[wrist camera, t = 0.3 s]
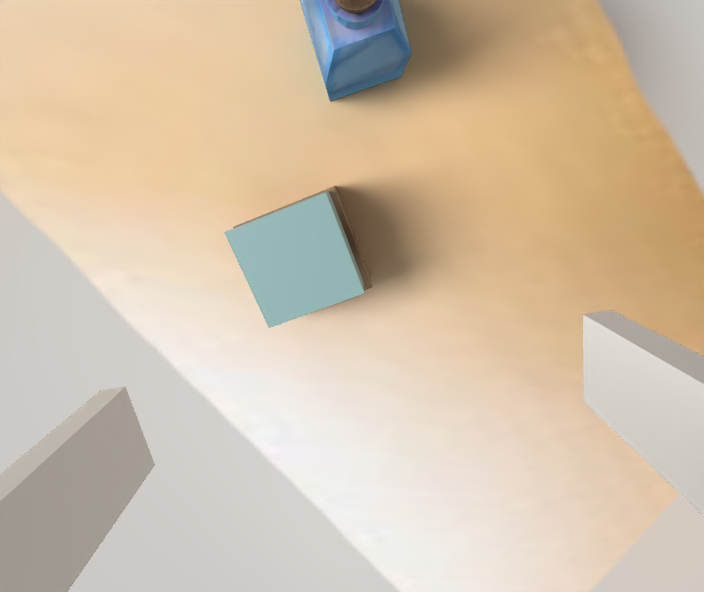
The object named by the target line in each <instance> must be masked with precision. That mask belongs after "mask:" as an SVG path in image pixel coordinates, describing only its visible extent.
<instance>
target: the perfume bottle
mask: <svg viewBox="0 0 704 592" xmlns="http://www.w3.org/2000/svg"><path fill="white" fill-rule="evenodd" d="M300 2H301V5H302V9H303V12H304V16H305V19H306V23H307V26H308V30H309V33H310V36H311V39H312V43H313V46H314V49H315V53H316V56H317V59H318V63H319V66H320V69H321V73H322V76H323V79H324V83H325V86H326V89H327V93H328V96H329V99H330V101H333V100H335V99H338V98H341V97H344V96H347V95H350V94H353V93H356V92H358V91H361V90H364V89H367V88H370V87H373V86H376V85H379V84H381V83H384V82H387V81H390V80H393V79H396V78H399V77H401V75H402V73H403V71H404V68H405V66H406V64H407V62H408V60H409V58H410V56H411V49H410V45H409V41H408V37H407V33H406V29H405V24H404V20H403V16H402V12H401V8H400V4H399V0H300Z"/></svg>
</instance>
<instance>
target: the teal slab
mask: <svg viewBox="0 0 704 592" xmlns="http://www.w3.org/2000/svg"><path fill="white" fill-rule="evenodd" d="M224 233H225V235H226V237H227V239H228V241H229V244H230V246H231V248H232V250H233V252H234V254H235V256H236V258H237V261H238V263H239V265H240V267H241V269H242V271H243V273H244V275H245V278H246V280H247V282H248V284H249V286H250V288H251V290H252V293H253V295H254V297H255V299H256V301H257V303H258V305H259V307H260V310H261V312H262V314H263V316H264V318H265V320H266V322H267V324H268V327H269V328H270V327H273V326H276V325H279V324H281V323H284V322H287V321H290V320H293V319H295V318H298V317H301V316H304V315H306V314H309V313H312V312H315V311H317V310H320V309H323V308H326V307H328V306H331V305H334V304H337V303H339V302H342V301H345V300H348V299H350V298H353V297H356V296H359V295H361V294H364V293H365V292H364V283H363V279H362V276H361V273H360V271H359V268H358V266H357V263H356V260H355V258H354V255H353V252H352V250H351V247H350V245H349V242H348V239H347V237H346V234H345V232H344V229H343V226H342V224H341V221H340V218H339V216H338V213H337V211H336V208H335V205H334V203H333V200H332V198H331V195H330V192H329V191H327V192H325V193H322V194H320V195H317V196H315V197H312V198H310V199H307V200H305V201H302V202H299V203H297V204H294V205H292V206H289V207H287V208H284V209H282V210H279V211H277V212H274V213H272V214H269V215H267V216H264V217H261V218H259V219H256V220H254V221H251V222H249V223H246V224H244V225H241V226H239V227H236V228H234V229H231V230H229V231H226V232H224Z"/></svg>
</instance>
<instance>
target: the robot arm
mask: <svg viewBox="0 0 704 592" xmlns="http://www.w3.org/2000/svg"><path fill="white" fill-rule="evenodd" d="M583 371H584V403H585V404H586V405H587V406H588V407H590V408H591V409H592V410H593V411H594V412H595V413H596V414H597V415H598V416H599V417H600V418H601V419H602V420H603V421H604V422H605V423H606V424H607V425H608V426H609V427H611V428H612V429H613V430H614V431H615V432H616V433H617V434H618V435H619V436H620V437H621V438H622V439H623V440H624V441H625V442H626V443H627V444H628V445H629V446H630V447H632V448H633V449H634V450H635V451H636V452H637V453H638V454H639V455H640V456H641V457H642V458H643V459H644V460H645V461H646V462H647V463H648V464H649V465H650V466H651V467H653V468H654V469H655V470H656V471H657V472H658V473H659V474H660V475H661V476H662V477H663V478H664V479H665V480H666V481H667V482H668V483H669V484H670V485H671V486H672V487H674V488H675V489H676V490H677V491H678V492H679V493H680V494H681V495H682V496H683V497H684V498H685V499H686V500H687V501H689V503H690V504H691V505H693V507H695V508H696V509H697V510H698V511H699V512H700V513H701V514H702V515H703V516H704V356H703V355H701V354H699V353H697V352H694V351H692V350H690V349H688V348H686V347H684V346H682V345H680V344H678V343H676V342H674V341H672V340H670V339H668V338H666V337H664V336H662V335H660V334H658V333H656V332H654V331H652V330H650V329H648V328H646V327H644V326H642V325H640V324H638V323H636V322H634V321H632V320H630V319H628V318H626V317H624V316H622V315H620V314H618V313H616V312H614V311H612V310H610V311H604V312H597V313H591V314H585V315H583ZM154 465H155V464H154V462H153V459H152V456H151V454H150V451H149V448H148V446H147V443H146V441H145V438H144V435H143V432H142V430H141V427H140V424H139V422H138V419H137V416H136V414H135V411H134V408H133V406H132V403H131V400H130V398H129V395H128V392H127V389H126V387H121V388H114V389H108V390H102V391H99V392H98V393H97V394H96V395H95V396H93V397H92V398H91V399H90V400H89V401H87V402H86V403H85V404H84V405H83V406H81V407H80V408H79V409H78V410H77V411H75V412H74V413H73V414H72V415H71V416H69V417H68V418H67V419H66V420H65V421H64V422H62V423H61V424H60V425H59V426H58V427H56V428H55V429H54V430H53V431H52V432H51V433H49V434H48V435H47V436H46V437H45V438H43V439H42V440H41V441H40V442H38V443H37V444H36V445H35V446H34V447H33V448H31V449H30V450H29V451H28V452H27V453H26V454H24V455H23V456H22V457H21V458H19V459H18V460H17V461H16V462H15V463H13V464H12V465H11V466H10V467H9V468H8V469H7V470H5V471H4V472H3V473H2V474H1V475H0V592H68V590H69V589H70V587H71V586H72V584H73V583H74V582H75V580H76V579H77V577H78V576H79V574H80V573H81V571H82V570H83V569H84V567H85V566H86V564H87V563H88V561H89V560H90V558H91V557H92V555H93V554H94V553H95V551H96V550H97V548H98V547H99V545H100V544H101V542H102V541H103V539H104V538H105V536H106V535H107V534H108V532H109V530H110V529H111V528H112V526H113V525H114V523H115V522H116V521H117V519H118V518H119V516H120V515H121V513H122V512H123V510H124V509H125V508H126V506H127V505H128V503H129V502H130V500H131V499H132V497H133V496H134V494H135V493H136V492H137V490H138V488H139V487H140V486H141V484H142V482H143V481H144V480H145V479H146V477H147V475H148V474H149V473H150V471H151V470H152V468H153V467H154Z"/></svg>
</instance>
